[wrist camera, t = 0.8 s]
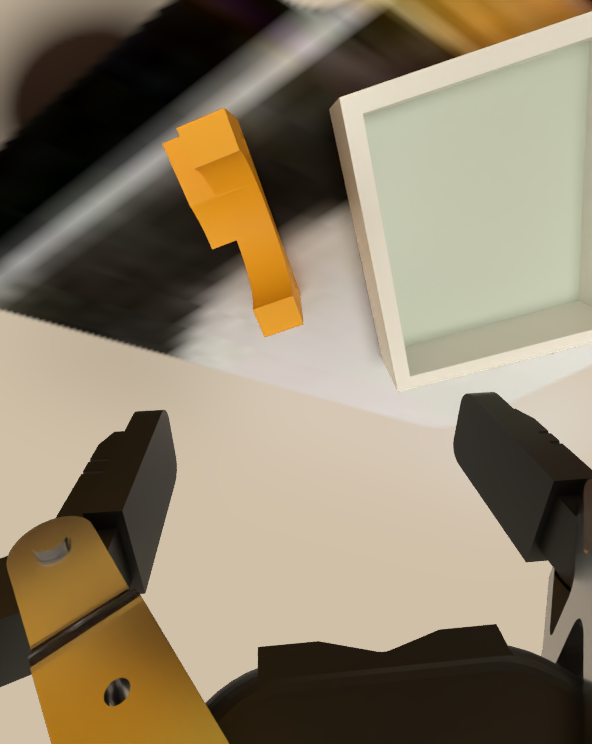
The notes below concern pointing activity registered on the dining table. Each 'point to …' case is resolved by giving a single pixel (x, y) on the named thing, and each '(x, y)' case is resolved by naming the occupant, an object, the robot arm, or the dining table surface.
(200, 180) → the pipe clamp
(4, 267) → the dining table surface
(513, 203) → the walled box
